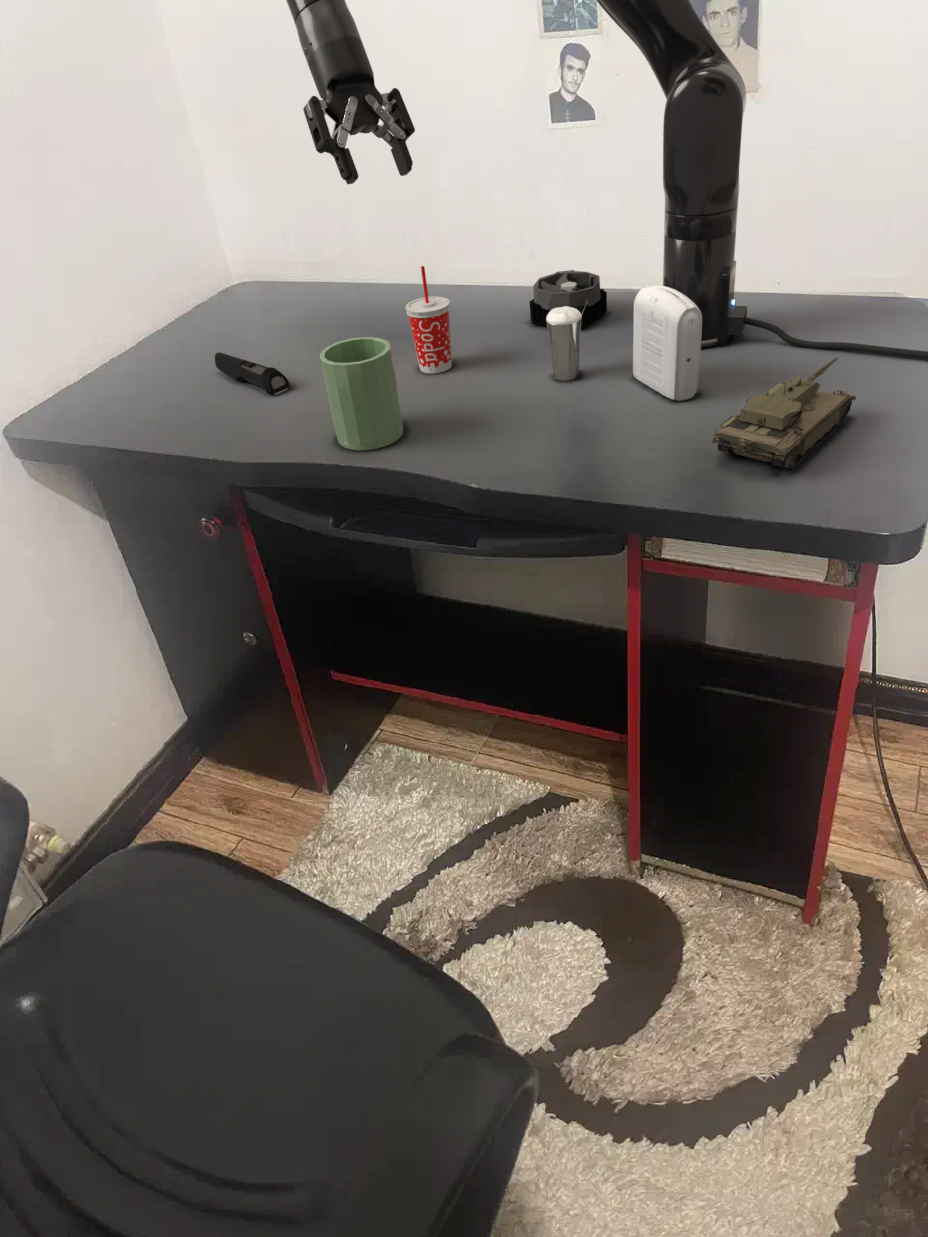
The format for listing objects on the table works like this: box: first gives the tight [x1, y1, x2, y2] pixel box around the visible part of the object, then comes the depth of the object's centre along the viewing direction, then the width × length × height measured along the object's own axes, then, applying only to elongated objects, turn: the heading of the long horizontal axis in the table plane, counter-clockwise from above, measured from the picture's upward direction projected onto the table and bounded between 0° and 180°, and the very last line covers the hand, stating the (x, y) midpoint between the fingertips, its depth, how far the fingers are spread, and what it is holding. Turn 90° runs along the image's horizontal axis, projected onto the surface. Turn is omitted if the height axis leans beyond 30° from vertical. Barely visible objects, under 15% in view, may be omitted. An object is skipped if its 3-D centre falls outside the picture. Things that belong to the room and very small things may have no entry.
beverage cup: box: [404, 265, 453, 374], centre depth 126 cm, size 6×6×14 cm
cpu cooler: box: [528, 269, 608, 330], centre depth 138 cm, size 10×6×10 cm
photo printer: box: [632, 284, 702, 402], centre depth 113 cm, size 10×4×12 cm, turn 25°
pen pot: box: [319, 336, 405, 451], centre depth 112 cm, size 8×8×11 cm
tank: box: [711, 356, 857, 470], centre depth 100 cm, size 9×22×10 cm, turn 138°
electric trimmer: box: [214, 352, 291, 396], centre depth 133 cm, size 4×16×3 cm, turn 45°
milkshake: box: [546, 300, 588, 382], centre depth 120 cm, size 4×5×10 cm
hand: (380, 177), depth 120 cm, fingers open, 8 cm apart
